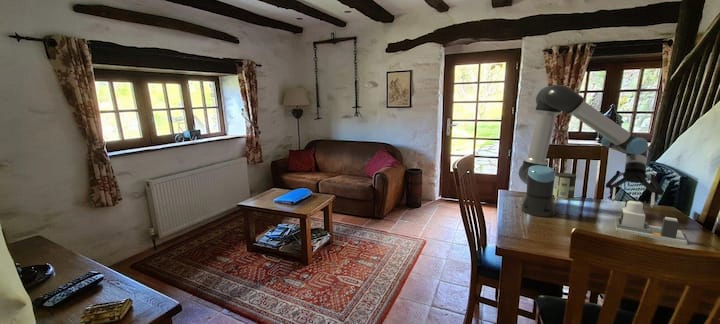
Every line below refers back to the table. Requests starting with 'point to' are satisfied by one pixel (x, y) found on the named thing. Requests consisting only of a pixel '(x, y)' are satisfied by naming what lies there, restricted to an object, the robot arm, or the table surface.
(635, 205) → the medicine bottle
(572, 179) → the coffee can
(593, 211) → the table surface
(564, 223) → the table surface
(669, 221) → the breaker toggle
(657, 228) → the breaker panel
